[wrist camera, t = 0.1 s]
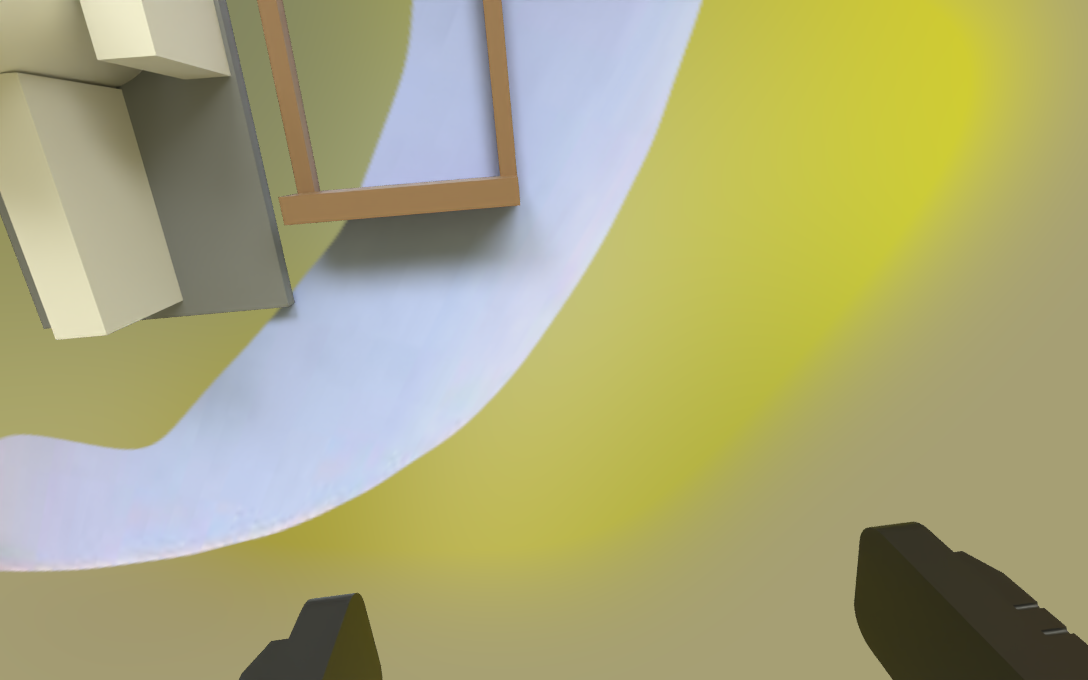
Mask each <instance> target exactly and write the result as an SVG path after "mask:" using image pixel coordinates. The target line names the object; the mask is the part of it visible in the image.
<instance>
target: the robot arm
mask: <svg viewBox="0 0 1088 680" xmlns="http://www.w3.org/2000/svg"><path fill="white" fill-rule="evenodd" d="M854 607H855V614H856V618H857V622H858V625H859V628H860V631H861V633H862V635H863V637H864V639H865V641H866V643H867V644H868V646H869V647H870V649H871V650H872V652H873V653H874V655H875V656H876V657H877V658H878V660H879V661H880V662H881V664H882V665H883V667H884V668H885V670H886V671H887V672H888V674H889V675H890V676H891V678H892V679H893V680H1088V645H1087V644H1086V643H1085V642H1084V641H1082V640H1081V639H1080V638H1079V637H1078V636H1076V635H1075V634H1074V633H1073V634H1070V633H1069V632H1068V631H1067V629H1066V626H1065V625H1064V624H1062V623H1061V622H1060V621H1059V620H1058V619H1057V618H1055V617H1054V616H1053V615H1052V614H1050V612H1048V611H1047V610H1046V609H1045V608H1039V606H1038V604H1037V601H1035V600H1034V599H1033V598H1032V597H1031V596H1029V595H1028V594H1027V593H1026V592H1025V591H1024V590H1022V589H1021V588H1020V587H1019V586H1018V585H1017V584H1015V583H1014V582H1013V581H1012V580H1011V579H1010V578H1008V577H1007V576H1006V575H1005V574H1004V573H1002V572H1000V571H998V570H996V569H994V568H993V567H991V566H989V565H987V564H985V563H983V562H981V561H980V560H978V559H976V558H974V557H972V556H970V555H968V554H967V553H965V552H963V551H960V552H953V551H952V550H951V549H950V548H948V547H947V546H946V545H945V544H944V543H943V542H942V541H941V540H939V539H938V538H937V537H936V536H935V535H934V534H933V533H932V532H931V531H930V530H928V529H927V528H926V527H925V526H923V525H921V524H920V523H917V522H907V523H900V524H892V525H885V526H877V527H869V528H866V529H864V530H863V532H862V533H861V536H860V544H859V556H858V567H857V577H856V589H855V600H854ZM239 680H382V671H381V665H380V661H379V657H378V653H377V649H376V646H375V642H374V638H373V634H372V630H371V627H370V623H369V619H368V615H367V611H366V608H365V604H364V601H363V598H362V596H361V595H360V594H359V593H353V594H345V595H338V596H331V597H323V598H315V599H310V600H308V601H307V602H306V603H305V604H304V607H303V608H302V610H301V612H300V614H299V617H298V619H297V621H296V624H295V626H294V628H293V630H292V632H291V635H290V637H289V639H283V640H276V641H271V642H270V643H269V644H268V645H267V646H266V648H265V649H264V650H263V651H262V652H261V653H260V654H259V655H258V656H257V658H256V659H255V660H254V661H253V662H252V663H251V664H250V665H249V666H248V667H247V668H246V670H245V671H244V672H243V673H242V674H241V677H240V678H239Z"/></svg>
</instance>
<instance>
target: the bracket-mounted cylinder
mask: <svg viewBox="0 0 1088 680" xmlns="http://www.w3.org/2000/svg"><path fill="white" fill-rule="evenodd" d="M0 215H1V217H2V220H3V223H4V225H5V228H6V230H7V233H8V236H9V238H10V241H11V243H12V246H13V249H14V252H15V254H16V256H17V259H18V262H19V264H20V267H21V270H22V273H23V275H24V277H25V280H26V283H27V286H28V288H29V291H30V294H31V296H32V299H33V301H34V304H35V306H36V309H37V312H38V314H39V317H40V320H41V323H42V325H43V328H44V329H46V328H52V331H53V333H54V336H55V339H56V340H57V339H58V340H59V339H69V338H79V337H92V336H101V335H102V336H103V335H108V334H110V333H113V332H115V331H117V330H119V329H121V328H124V327H126V326H128V325H130V324H132V323H134V322H137V321H139V320H146V319H157V318H168V317H179V316H191V315H201V314H213V313H224V312H235V311H246V310H256V309H268V308H279V307H289V306H290V305H292V304H293V303H294V298H293V294H292V289H291V285H290V281H289V276H288V272H287V268H286V263H285V259H284V254H283V250H282V245H281V241H280V236H279V232H278V228H277V223H276V219H275V214H274V210H273V206H272V201H271V197H270V192H269V188H268V184H267V179H266V175H265V170H264V166H263V162H262V157H261V153H260V148H259V144H258V140H257V135H256V131H255V126H254V122H253V118H252V113H251V109H250V104H249V100H248V96H247V91H246V87H245V82H244V78H243V73H242V70H241V65H240V60H239V56H238V51H237V47H236V43H235V38H234V34H233V29H232V25H231V21H230V16H229V12H228V8H227V3H226V0H0Z"/></svg>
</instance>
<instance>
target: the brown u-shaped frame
mask: <svg viewBox="0 0 1088 680" xmlns="http://www.w3.org/2000/svg"><path fill="white" fill-rule="evenodd" d="M257 2H258V7H259V12H260V16H261V21H262V26H263V31H264V35H265V40H266V45H267V49H268V54H269V59H270V64H271V69H272V73H273V78H274V83H275V87H276V91H277V97H278V102H279V106H280V111H281V116H282V121H283V125H284V130H285V135H286V140H287V144H288V149H289V154H290V158H291V163H292V168H293V173H294V177H295V182H296V187H297V192H298V194H292V195H288V196H282V197H278V198H279V202H280V207H281V212H282V216H283V221H284V225H293V224H305V223H317V222H327V221H339V220H352V219H364V218H376V217H387V216H399V215H411V214H423V213H434V212H446V211H458V210H470V209H481V208H493V207H505V206H517V205H520V197H519V186H518V177H517V170H516V159H515V148H514V137H513V126H512V114H511V103H510V92H509V81H508V70H507V58H506V47H505V36H504V25H503V14H502V2H501V0H483V6H484V16H485V27H486V37H487V47H488V57H489V67H490V77H491V87H492V98H493V108H494V118H495V128H496V138H497V148H498V158H499V169H500V176H493V177H481V178H469V179H457V180H445V181H433V182H421V183H409V184H397V185H385V186H373V187H361V188H350V189H338V190H326V191H320V188H319V182H318V177H317V172H316V167H315V162H314V157H313V152H312V147H311V142H310V137H309V132H308V127H307V122H306V117H305V112H304V107H303V102H302V96H301V91H300V86H299V82H298V77H297V71H296V66H295V61H294V56H293V51H292V46H291V41H290V36H289V31H288V26H287V21H286V16H285V11H284V6H283V1H282V0H257Z"/></svg>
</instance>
